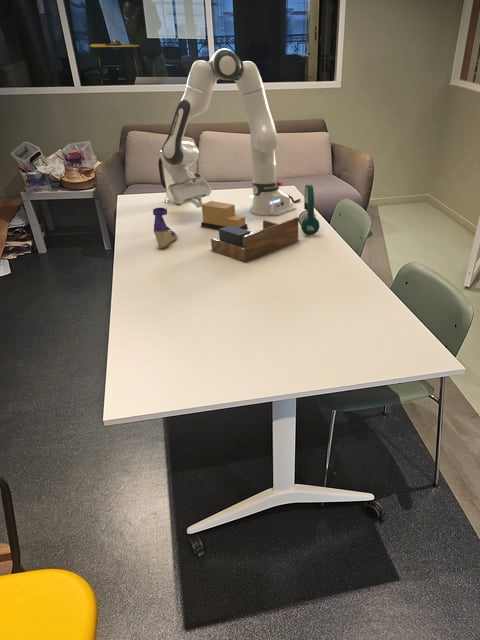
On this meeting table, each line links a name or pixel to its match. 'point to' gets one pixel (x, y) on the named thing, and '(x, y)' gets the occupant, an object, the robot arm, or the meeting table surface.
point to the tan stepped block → (221, 216)
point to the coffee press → (167, 180)
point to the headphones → (309, 213)
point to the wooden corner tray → (260, 241)
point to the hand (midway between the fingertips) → (200, 206)
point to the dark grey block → (233, 235)
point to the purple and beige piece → (162, 229)
